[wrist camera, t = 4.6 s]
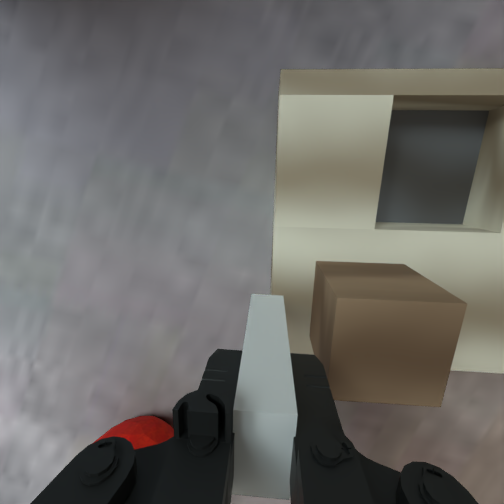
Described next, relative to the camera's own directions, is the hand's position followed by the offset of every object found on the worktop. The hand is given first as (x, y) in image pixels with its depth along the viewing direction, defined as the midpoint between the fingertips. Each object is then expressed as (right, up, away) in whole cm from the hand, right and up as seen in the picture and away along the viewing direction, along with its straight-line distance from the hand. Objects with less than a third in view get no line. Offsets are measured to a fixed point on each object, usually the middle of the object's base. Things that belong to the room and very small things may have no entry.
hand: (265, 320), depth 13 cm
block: (+5, +1, +2) cm, 5 cm away
